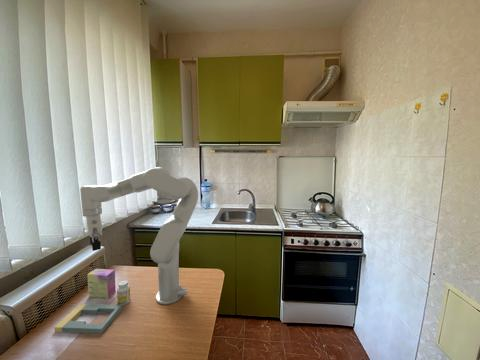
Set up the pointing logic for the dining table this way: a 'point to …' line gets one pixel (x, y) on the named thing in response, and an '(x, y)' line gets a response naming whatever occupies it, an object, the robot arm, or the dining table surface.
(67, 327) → the keyhole board
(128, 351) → the dining table surface
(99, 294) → the box
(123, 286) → the supplement bottle
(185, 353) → the dining table surface
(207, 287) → the dining table surface
